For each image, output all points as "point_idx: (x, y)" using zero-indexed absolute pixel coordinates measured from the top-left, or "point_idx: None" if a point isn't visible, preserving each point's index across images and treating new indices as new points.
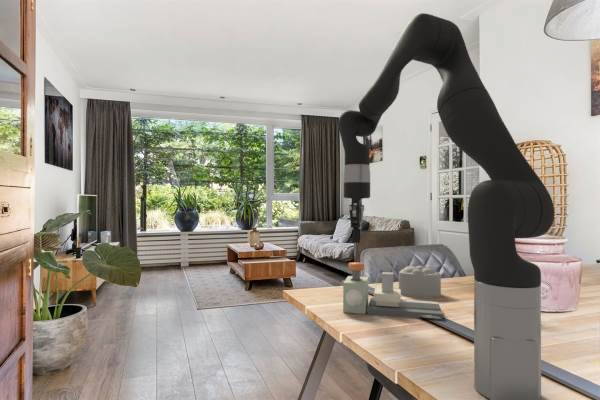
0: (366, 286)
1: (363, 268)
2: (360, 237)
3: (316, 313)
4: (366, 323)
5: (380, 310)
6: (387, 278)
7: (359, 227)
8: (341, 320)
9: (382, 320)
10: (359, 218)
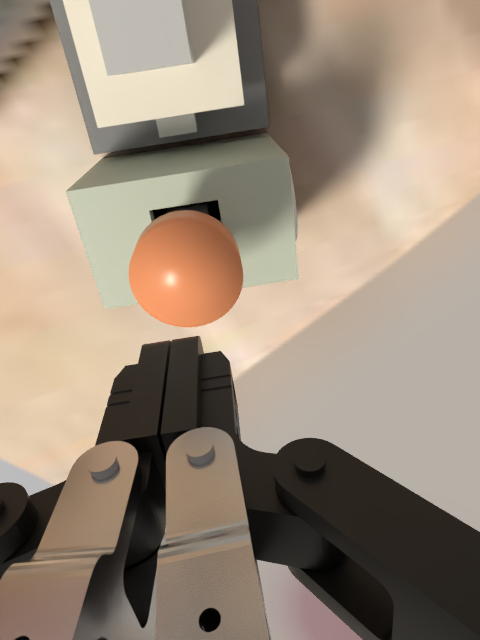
0: (223, 161)
1: (197, 214)
2: (169, 366)
3: (326, 310)
4: (402, 94)
5: (261, 56)
6: (184, 14)
7: (319, 442)
8: (387, 202)
9: (340, 29)
10: (465, 572)
